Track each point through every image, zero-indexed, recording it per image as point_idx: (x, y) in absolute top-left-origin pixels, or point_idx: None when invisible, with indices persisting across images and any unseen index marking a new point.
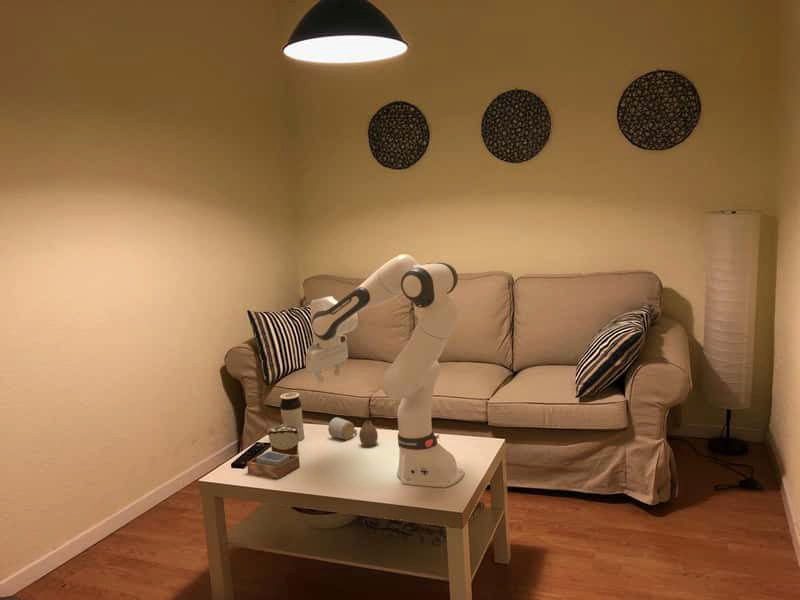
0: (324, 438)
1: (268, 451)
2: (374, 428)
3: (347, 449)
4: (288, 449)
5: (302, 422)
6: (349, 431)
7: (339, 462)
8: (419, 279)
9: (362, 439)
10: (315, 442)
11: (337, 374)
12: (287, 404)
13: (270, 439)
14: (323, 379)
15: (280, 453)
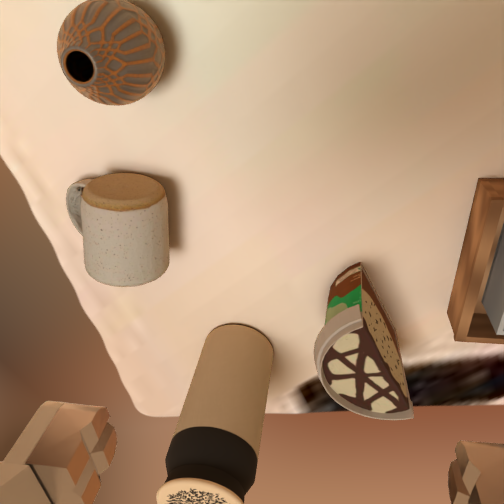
0: (182, 266)
1: (498, 331)
2: (74, 18)
3: (227, 109)
4: (374, 301)
5: (206, 370)
6: (122, 185)
7: (376, 37)
8: None
9: (161, 57)
10: (229, 273)
11: (93, 418)
12: (244, 473)
13: (404, 380)
14: (482, 473)
15: (474, 289)
